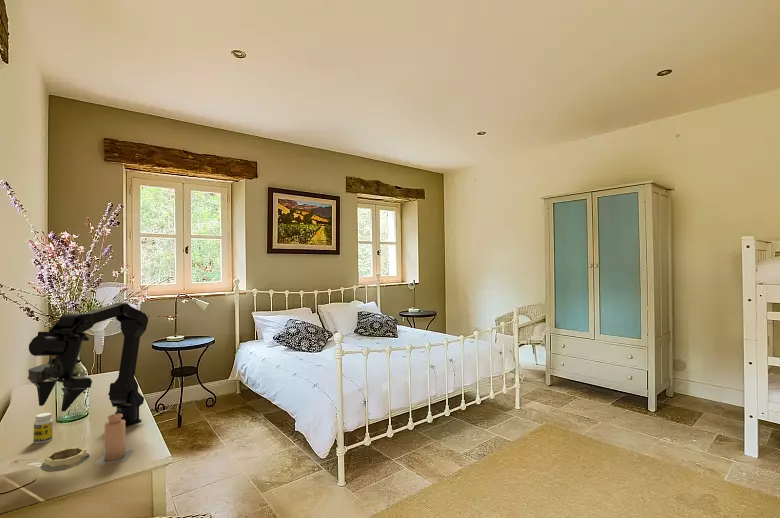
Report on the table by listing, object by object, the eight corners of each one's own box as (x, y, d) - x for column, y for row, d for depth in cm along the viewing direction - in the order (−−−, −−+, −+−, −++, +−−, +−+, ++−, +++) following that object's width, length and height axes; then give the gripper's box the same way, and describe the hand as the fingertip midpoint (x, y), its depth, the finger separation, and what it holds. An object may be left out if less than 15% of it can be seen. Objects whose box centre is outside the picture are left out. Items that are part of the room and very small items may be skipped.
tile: (104, 455, 122) (104, 453, 122) (135, 451, 124) (135, 449, 124) (92, 467, 115) (92, 465, 115) (125, 463, 117) (125, 461, 117)
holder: (78, 451, 125) (78, 442, 125) (97, 459, 120) (97, 450, 120) (33, 466, 115) (33, 457, 115) (51, 476, 110) (51, 466, 110)
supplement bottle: (30, 445, 130) (31, 418, 130) (36, 439, 134) (37, 413, 135) (49, 442, 132) (50, 415, 132) (54, 436, 136) (55, 411, 137)
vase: (119, 452, 123) (119, 411, 123) (128, 455, 121) (128, 414, 121) (100, 458, 119) (101, 416, 119) (110, 462, 116) (110, 419, 116)
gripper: (16, 350, 121) (-1, 406, 118) (62, 360, 115) (46, 418, 112) (55, 351, 131) (40, 401, 128) (99, 359, 126) (85, 412, 123)
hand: (52, 408), depth 123 cm, fingers open, 9 cm apart
